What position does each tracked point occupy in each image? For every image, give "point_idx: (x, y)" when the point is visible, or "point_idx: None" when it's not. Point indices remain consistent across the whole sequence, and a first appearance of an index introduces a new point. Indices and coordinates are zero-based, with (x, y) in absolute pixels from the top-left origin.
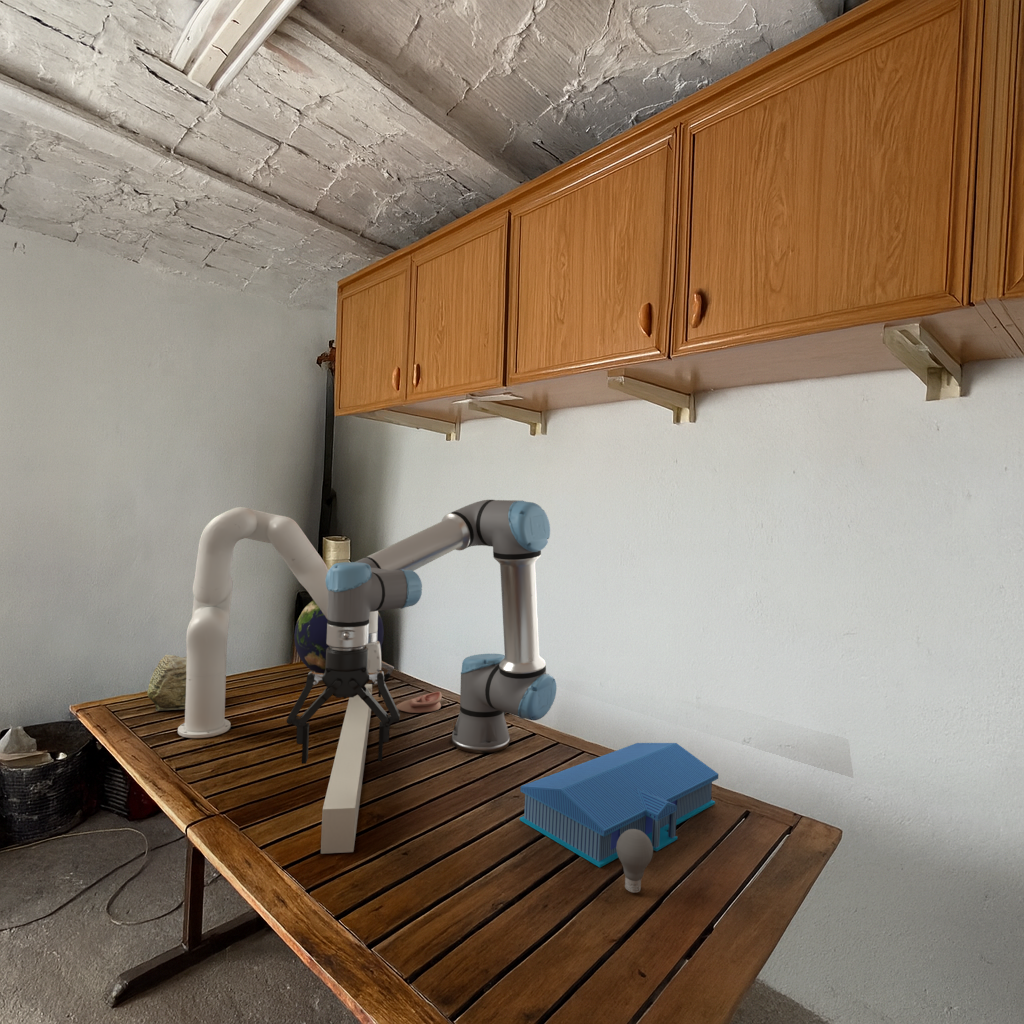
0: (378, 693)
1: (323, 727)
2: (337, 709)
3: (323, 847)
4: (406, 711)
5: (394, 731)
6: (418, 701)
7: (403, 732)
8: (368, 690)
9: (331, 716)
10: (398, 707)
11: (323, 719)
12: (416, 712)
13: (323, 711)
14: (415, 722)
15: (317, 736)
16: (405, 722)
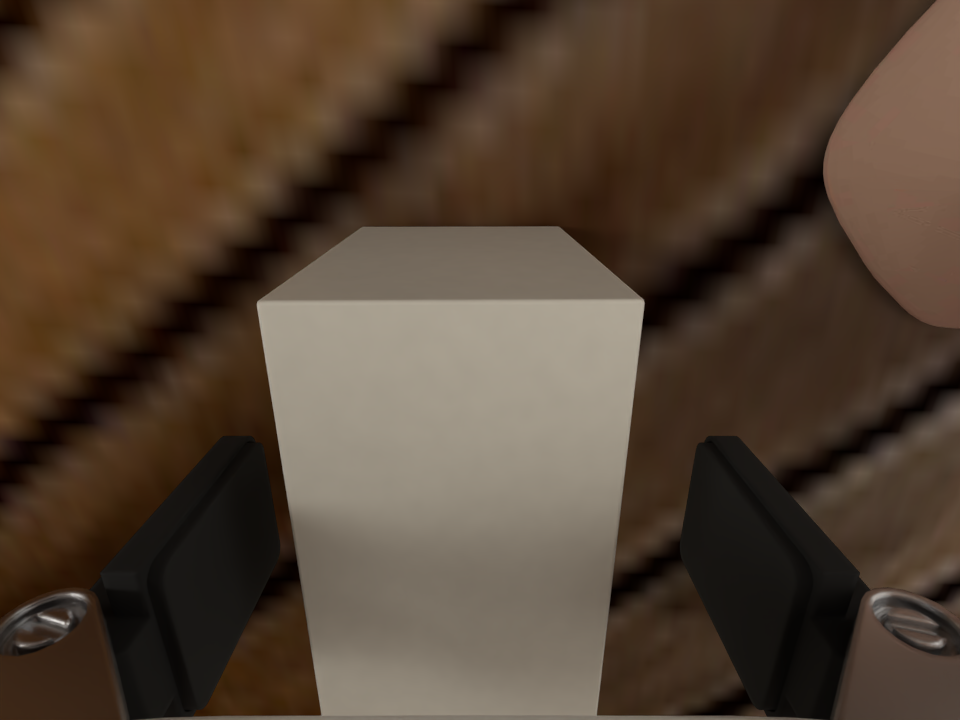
0: (698, 590)
1: None
2: (200, 155)
3: None
4: (906, 306)
5: (708, 654)
6: None
7: None
8: (566, 622)
9: (200, 361)
10: (858, 215)
11: (154, 429)
12: None
13: (72, 216)
14: (898, 517)
15: (221, 703)
16: (821, 514)
